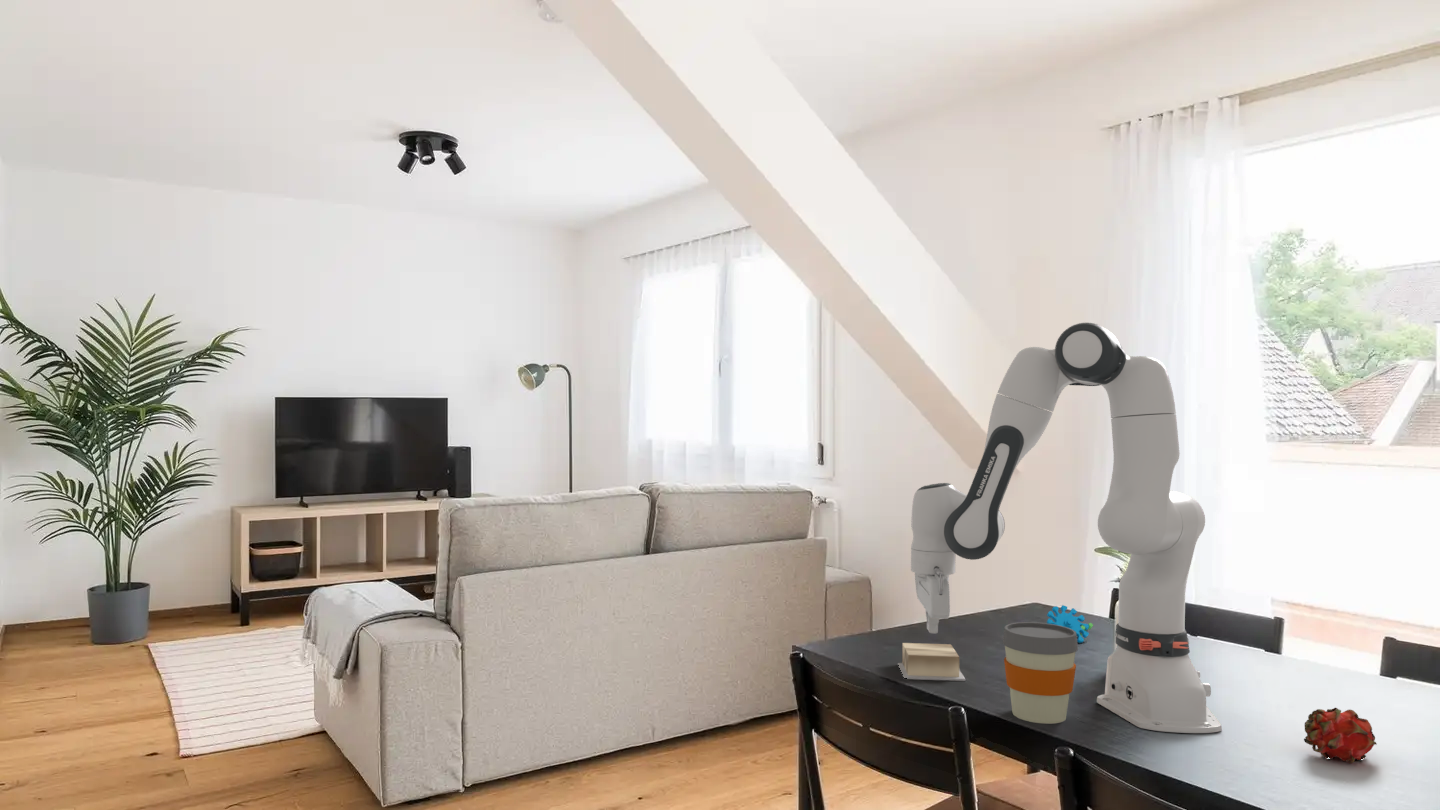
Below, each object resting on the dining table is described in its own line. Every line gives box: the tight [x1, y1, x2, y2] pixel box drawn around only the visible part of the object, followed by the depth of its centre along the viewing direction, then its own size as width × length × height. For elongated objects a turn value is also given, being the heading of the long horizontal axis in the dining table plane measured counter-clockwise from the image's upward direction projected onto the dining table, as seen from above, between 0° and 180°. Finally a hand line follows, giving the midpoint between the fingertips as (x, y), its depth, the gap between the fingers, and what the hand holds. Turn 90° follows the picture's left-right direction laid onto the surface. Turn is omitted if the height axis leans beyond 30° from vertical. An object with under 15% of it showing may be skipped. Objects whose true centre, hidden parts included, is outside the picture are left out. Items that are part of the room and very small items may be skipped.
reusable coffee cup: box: [1002, 621, 1079, 725], centre depth 168 cm, size 13×13×15 cm
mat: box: [897, 662, 967, 682], centre depth 194 cm, size 10×12×1 cm
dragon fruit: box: [1303, 707, 1378, 764], centre depth 149 cm, size 8×8×12 cm
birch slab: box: [901, 642, 960, 677], centre depth 195 cm, size 4×10×10 cm
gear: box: [1046, 604, 1094, 644], centre depth 225 cm, size 11×6×10 cm
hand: (932, 631), depth 193 cm, fingers closed
